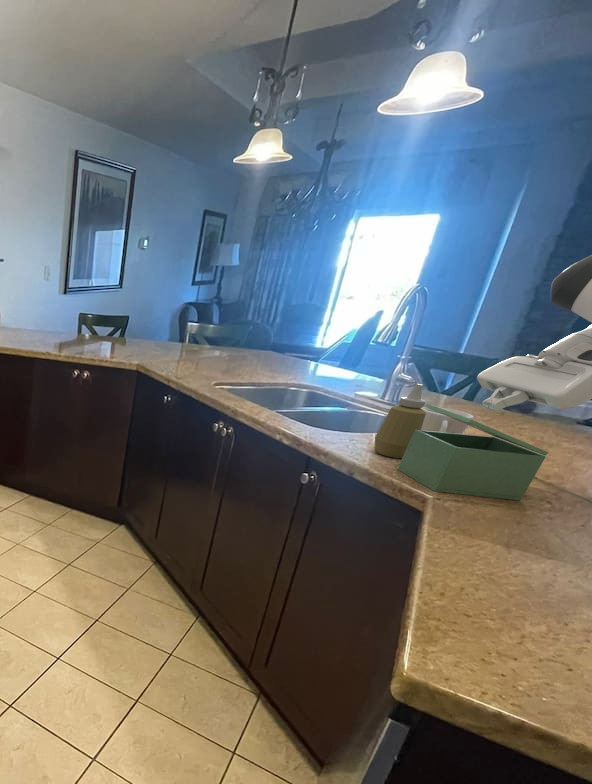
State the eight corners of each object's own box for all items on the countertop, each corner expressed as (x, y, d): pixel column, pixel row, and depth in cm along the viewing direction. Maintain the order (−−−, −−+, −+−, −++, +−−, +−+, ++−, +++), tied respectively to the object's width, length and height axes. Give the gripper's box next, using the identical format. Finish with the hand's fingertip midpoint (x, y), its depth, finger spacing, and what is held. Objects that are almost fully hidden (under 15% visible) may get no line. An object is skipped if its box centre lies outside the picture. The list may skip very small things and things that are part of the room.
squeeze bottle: (416, 462, 119) (450, 389, 112) (377, 457, 122) (407, 385, 114) (400, 451, 126) (431, 382, 119) (363, 447, 129) (391, 379, 121)
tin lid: (468, 422, 97) (471, 419, 96) (424, 406, 108) (427, 403, 108) (545, 455, 96) (549, 452, 96) (494, 436, 108) (497, 433, 107)
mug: (455, 448, 131) (472, 412, 127) (458, 462, 121) (478, 423, 117) (404, 438, 137) (420, 404, 133) (403, 451, 127) (420, 414, 123)
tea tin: (434, 491, 103) (456, 447, 99) (397, 469, 114) (414, 429, 110) (520, 500, 100) (546, 456, 96) (473, 477, 112) (494, 436, 108)
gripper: (517, 342, 104) (444, 384, 109) (617, 357, 85) (523, 407, 91) (531, 365, 105) (458, 405, 110) (633, 385, 86) (539, 432, 92)
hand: (488, 406), depth 100 cm, fingers closed
